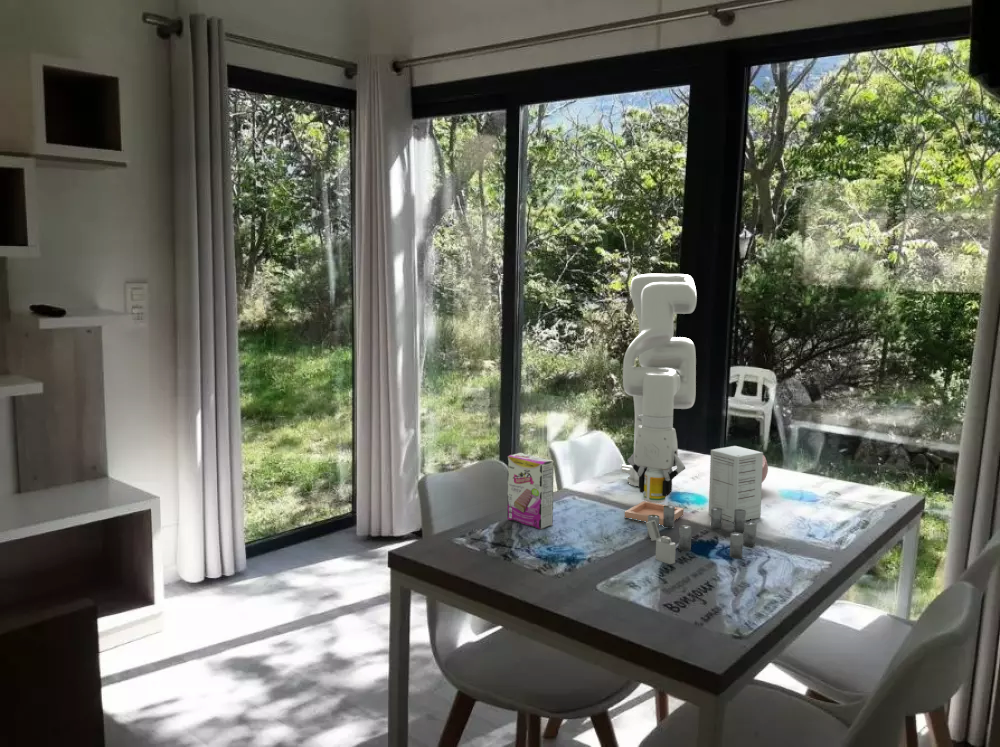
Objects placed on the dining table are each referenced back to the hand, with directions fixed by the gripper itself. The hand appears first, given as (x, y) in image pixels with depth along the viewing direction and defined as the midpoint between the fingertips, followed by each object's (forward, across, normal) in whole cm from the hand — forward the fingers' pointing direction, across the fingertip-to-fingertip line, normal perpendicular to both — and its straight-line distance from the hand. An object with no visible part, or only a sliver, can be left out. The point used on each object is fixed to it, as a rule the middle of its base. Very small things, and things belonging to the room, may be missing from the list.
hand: (655, 492), depth 206 cm
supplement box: (+7, +16, +13) cm, 22 cm away
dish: (+6, 0, 0) cm, 6 cm away
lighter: (+7, +13, -26) cm, 30 cm away
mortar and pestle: (+6, +10, +39) cm, 41 cm away
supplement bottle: (+2, 0, 0) cm, 2 cm away
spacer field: (+7, +16, -7) cm, 19 cm away
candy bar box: (+7, -23, -22) cm, 32 cm away
